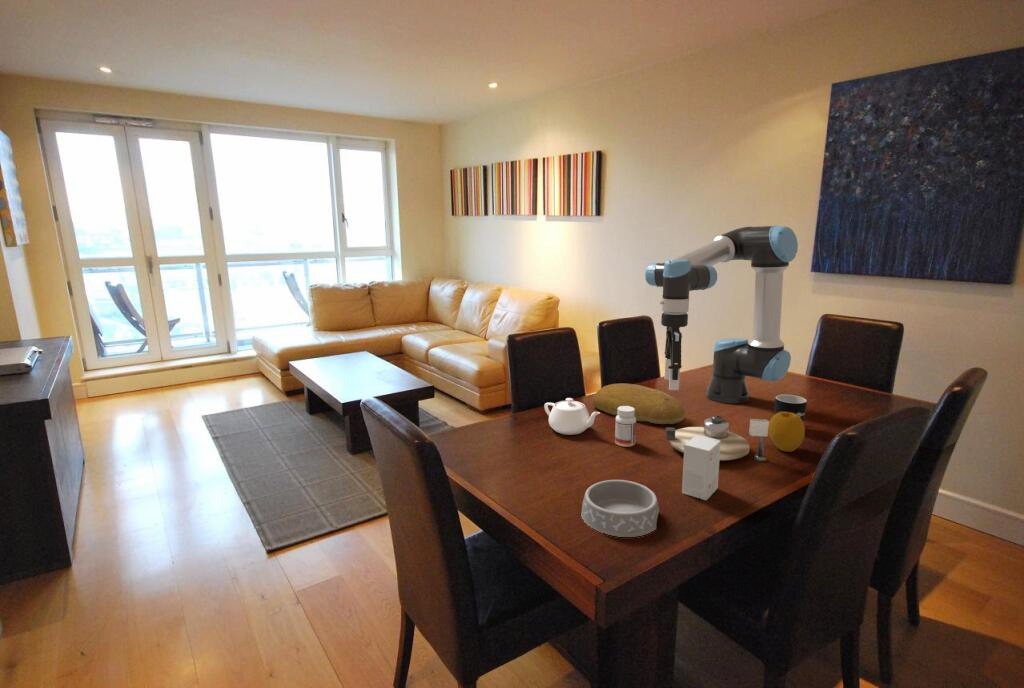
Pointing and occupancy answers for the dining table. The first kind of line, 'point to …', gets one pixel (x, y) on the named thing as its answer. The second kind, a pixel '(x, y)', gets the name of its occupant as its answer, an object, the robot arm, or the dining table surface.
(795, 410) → the mug
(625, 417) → the pill bottle
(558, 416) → the teapot
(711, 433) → the cover
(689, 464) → the small box
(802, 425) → the apple
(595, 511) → the dog bowl
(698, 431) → the platter
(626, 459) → the dining table surface
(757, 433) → the silver rod with block
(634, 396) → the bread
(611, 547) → the dining table surface
